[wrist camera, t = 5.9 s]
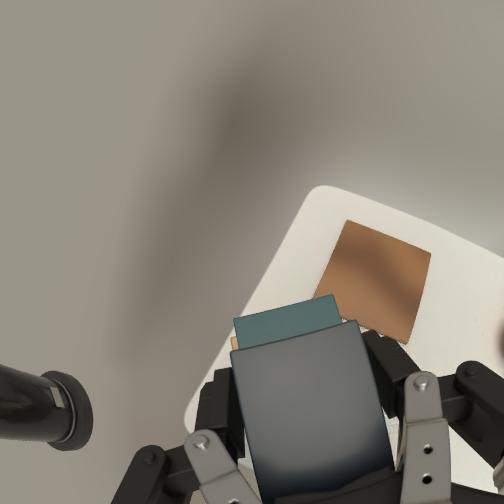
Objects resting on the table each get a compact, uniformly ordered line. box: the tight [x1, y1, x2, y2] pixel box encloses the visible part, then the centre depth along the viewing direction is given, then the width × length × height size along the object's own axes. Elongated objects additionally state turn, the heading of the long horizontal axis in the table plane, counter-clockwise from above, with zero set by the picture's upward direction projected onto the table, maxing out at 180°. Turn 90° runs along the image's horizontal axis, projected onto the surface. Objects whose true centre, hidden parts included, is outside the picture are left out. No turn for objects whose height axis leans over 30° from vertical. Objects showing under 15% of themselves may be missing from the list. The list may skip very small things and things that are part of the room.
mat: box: [312, 220, 431, 344], centre depth 31 cm, size 12×12×1 cm
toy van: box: [230, 294, 395, 504], centre depth 11 cm, size 9×5×8 cm, turn 11°
